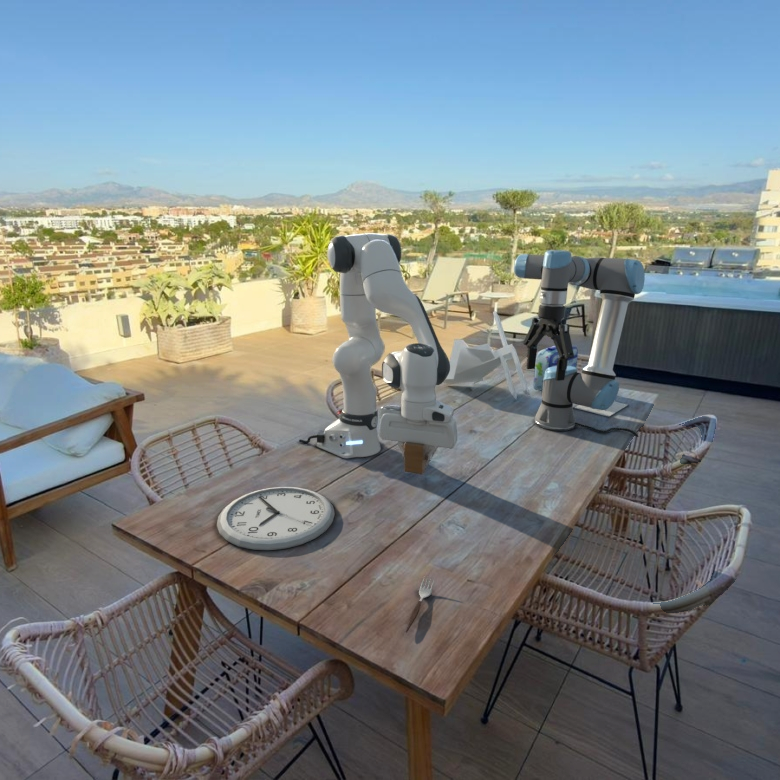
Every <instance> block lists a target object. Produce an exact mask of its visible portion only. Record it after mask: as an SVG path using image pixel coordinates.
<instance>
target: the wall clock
mask: <svg viewBox="0 0 780 780" xmlns="http://www.w3.org/2000/svg"><path fill="white" fill-rule="evenodd" d="M335 516H336V513H335V509H334V505H333V504H332V503H331V502H330V500H329V499H328V498H327V497H325V496H323V495H322V494H321V493H319V492H316V491H313V490H311V489H307V488H302V487H296V486H279V487H278V486H277V487H267V488H263V489H258V490H255V491H251V492H249V493H246V494H243V495H242V496H240V497H238V498H235V499H234V500H232V501H231V502H230V503H228V505H226V506H225V507H223V509H222V510H221V512H220V514H219V515H218V517H217V521H216V529H217V531H218V533H219V535H220V536H221V537H222V538H223V539H224V540H225V541H226V542H227V543H230V544H233V545H235V546H236V547H239V548H244V549H249V550H257V551H274V550H285V549H289V548H292V547H297V546H301V545H304V544H306V543H308V542H310V541H312V540H315V539H317V538H318V537H319V536H321V535H323V534H324V533H325V532H326V531H328V529H329V528H330V527H331V525H332V524H333V522H334V518H335Z"/></svg>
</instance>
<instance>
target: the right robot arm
mask: <svg viewBox="0 0 780 780" xmlns="http://www.w3.org/2000/svg"><path fill="white" fill-rule="evenodd" d="M513 271H514V275H515V276H516V277H517V278H519V279H525V280H526V279H527V280H541V282H540V283H541V286H540V293H539V305H538V311H537V317H533V318H532V320H531V325H530V327H529V328H528V332H527V333H526V336H525V338H524V340H523V343H522V344H523V345H524V346H526V348H527V353H526V358H527V360H526V370H534V369H535V363H536V357H537V354H538V353H537V352H538V348H537V345H538V344H539V343H540V342H541V340H543V338H544V337H545V336H547V337H549V338H550V340H552V342H553V344H554V346H556V349H557V351H558V354H559V357H560V358H558V361H557V366H554V367H550V368H548V369H546V371H545V375H544V379H543V380H544V381H543V391H541V392H542V394H541V402H540V405H539V407H538V410H537V411H536V413H535V417H534V424H535V425H536V426H537V427H539V428H542V429H544V430H549V431H556V432H567V431H572V430H574V429H575V428H576V426H579V427H582V428H586V429H589V430H592V431H594V432H596V433H599V434H607V433H610V432H611V431H624V432H629V433H631V434H632V435H633V436H634V437H636V438H639V437H640V436H639V435H638V433H637V432H636V431H634V430H633V429H630V428H627V427H610V428H608V429H605V430H602V429H598V428H596V427H593V426H590V425H587V424H584V423H580V422H577V421H576V418H575V417H576V416H575V413H574V407H573V405H574V404H575V405H577V406H578V405H582V406H586V407H590V408H592V409H599V410H606V409H608V408H609V407H610V406H611V405H612V404H613V402H616V399H617V396H618V394H619V390H620V382H619V381H618V379H616V376H617V375H616V373H615V371H614V365H615V362H616V357H617V353H618V348H619V344H620V339H621V336H622V331H623V327H624V323H625V320H626V319H625V318H626V314H627V310H628V306H629V304H630V303H631V302H633V301H634V300H635V297H636V295H639V294H641V293H642V291H643V289H644V286H645V279H646V277H645V268H644V265H643V263H642V261H640V260H638V259H633V258H621V257H619V258H618V257H616V258H615V257H586V258H585V257H583V256H580V255H574V256H572V253H571V251H570V250H556V249H555V250H551V249H549V250H546V251H545V252H544V255H543V254H530V253H527V254H526V253H525V254H523V253H522V254H519V255H518V256H517V257H516V258H515V261H514V265H513ZM569 284H570V285H572V286H576V287H581V288H585V289H589V290H594V291H599V296H600V298H601V300H602V301H601V306H600V309H599V313H598V319H597V324H596V328H595V332H594V335H593V336H594V337H593V340H592V346H591V349H590V354H589V359H588V362H587V365H586V366H584V367H583V368H582V369H581V372H578V368H577V366H576V367H573V366H567V363H568V359H570V358H574V353H573V348H572V347H573V343H572V339H571V335H570V324H568V323H565V324H562V321H563V319H564V318H565V315H566V314H565V312H566V306H565V305H566V304H567V299H568V290H569V289H568V288H569ZM563 354H564V355H563Z"/></svg>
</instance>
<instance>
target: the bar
mask: <svg viewBox="0 0 780 780" xmlns="http://www.w3.org/2000/svg"><path fill="white" fill-rule="evenodd" d="M404 445H405V457H404V470H403V471H404V473H409V474H417V475H423V474H424V472H425V470H426V469H427V467H428V465H429V464H430V462H431V461H426V460H425V454H426V452H430V451H431V449H429V448H430V446H428V445H425V444H420V443H412V442H406V443H404ZM438 448H439V447H436V449H435V450H434V452H433V453H432V458H433V457H434V455H435V453H436V451H437V450H438Z"/></svg>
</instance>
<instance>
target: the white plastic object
mask: <svg viewBox="0 0 780 780" xmlns="http://www.w3.org/2000/svg"><path fill="white" fill-rule="evenodd" d="M492 315H493V319H494V321H495V324H496V325H495V326H496V328H497V332H498V335H499V338H500V342H501V345H502V347H500V348H498V349H496V350H495V349H493V348H492V347H491V346H490V344H489V343H488V342H487V343H483V344H479V345H473V346H469V345H468V343H466V342H465V340H464V339H463V338H460V339H458V338H454V340H453V344H452V349H451V353H450V357H449V362H450V372H449V374H448V376H447V378H446V379H445V380H444V381H443V382H442V383H443V384H444V385H445V386H449V385H458V384H467V383H468V384H469V383H473V384H477V383H480V382H482V381H484V378H485V377H486V376H487V375H489V374H490V373H492V372H494V371H495V370H496V369H497V368H499V367H500V366H502V370H503V373H504V376H505V380H506V383H507V386H508V390H509V393H510V394H511V395H512V397H513V398H514V399H515V400H517V392H516V391H517V390H516V388H515V385H514V381H513V378H512V375H511V371H510V369H509V365H508V361H510V360H513V363H514V366H515V369H516V372H517V376H518V380H519V382H520V385H521V389H522V391H523V393H524V395H525V396H526V397H528V396H531V395H530V390H529V388H528V387H529V386H528V384H527V381H526V378H525V375H524V371H523V369H522V368H523V367H522V366H521V362H520V359H519V355H518V352H517V349H516V347H515V346H514V345H513V343H511V344H508V341H507V337H506V334H505V331H504V328H503V325H502V321H501V318H500V315H499V314H498V312H497V311H496V310H495V311H492Z"/></svg>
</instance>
